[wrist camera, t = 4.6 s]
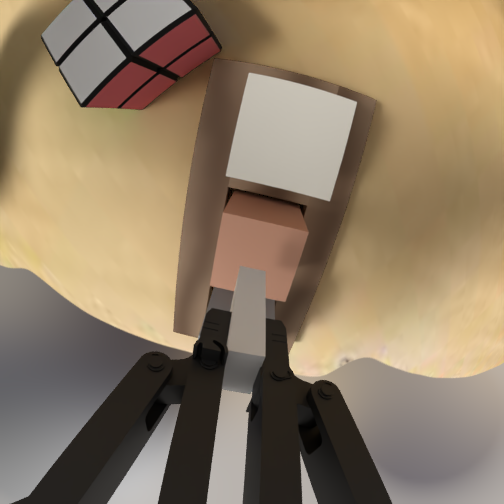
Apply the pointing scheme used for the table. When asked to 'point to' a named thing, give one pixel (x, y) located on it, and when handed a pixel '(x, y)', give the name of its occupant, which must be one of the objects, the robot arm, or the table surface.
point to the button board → (218, 188)
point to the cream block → (290, 136)
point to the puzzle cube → (127, 48)
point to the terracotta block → (259, 242)
